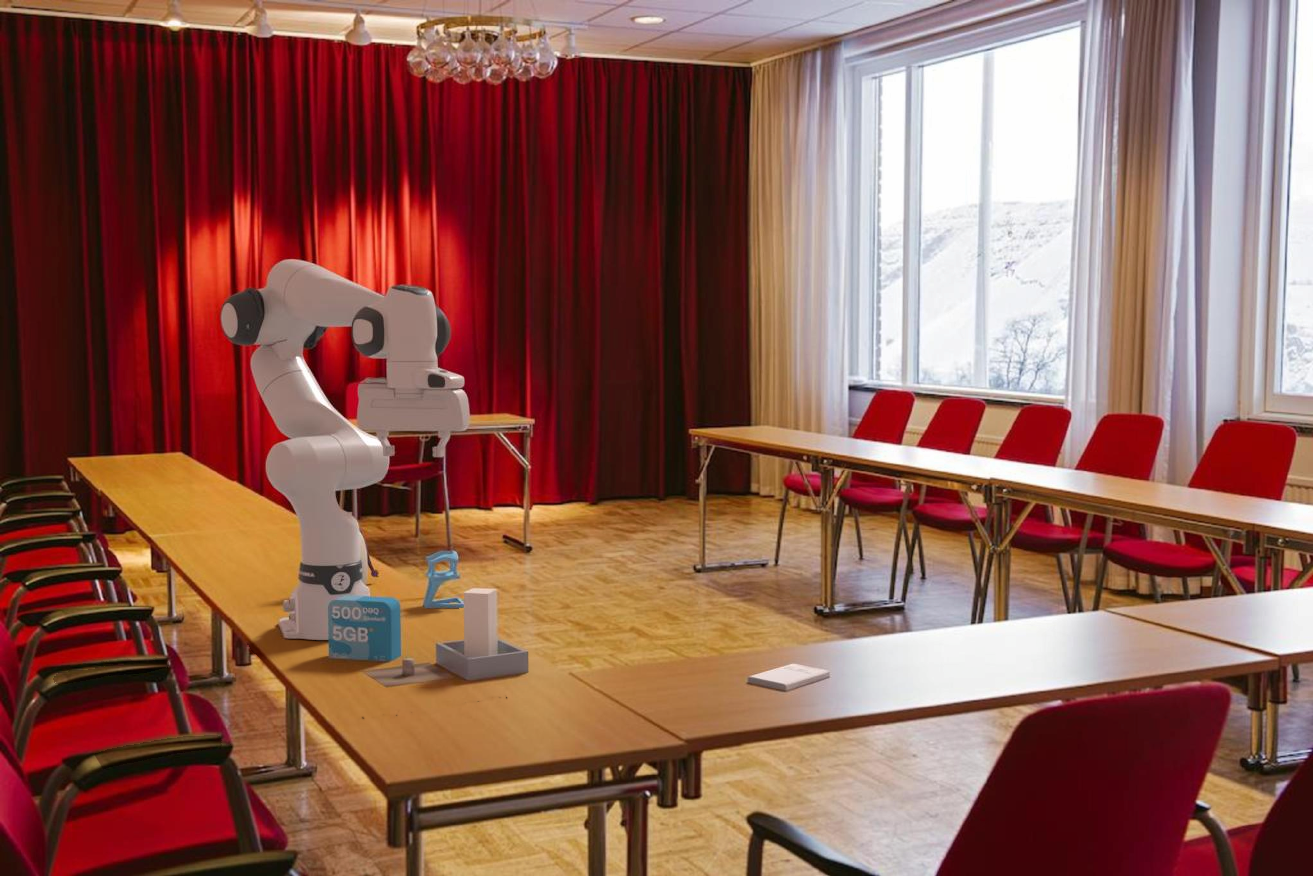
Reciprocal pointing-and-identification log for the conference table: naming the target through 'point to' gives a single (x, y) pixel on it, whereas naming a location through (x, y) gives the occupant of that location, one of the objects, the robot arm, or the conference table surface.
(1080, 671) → the conference table surface
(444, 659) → the bin
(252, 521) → the conference table surface
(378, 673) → the stud plate
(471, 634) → the strut
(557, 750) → the conference table surface
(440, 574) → the light blue frame stand
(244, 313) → the robot arm
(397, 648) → the data package
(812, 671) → the external hard drive
